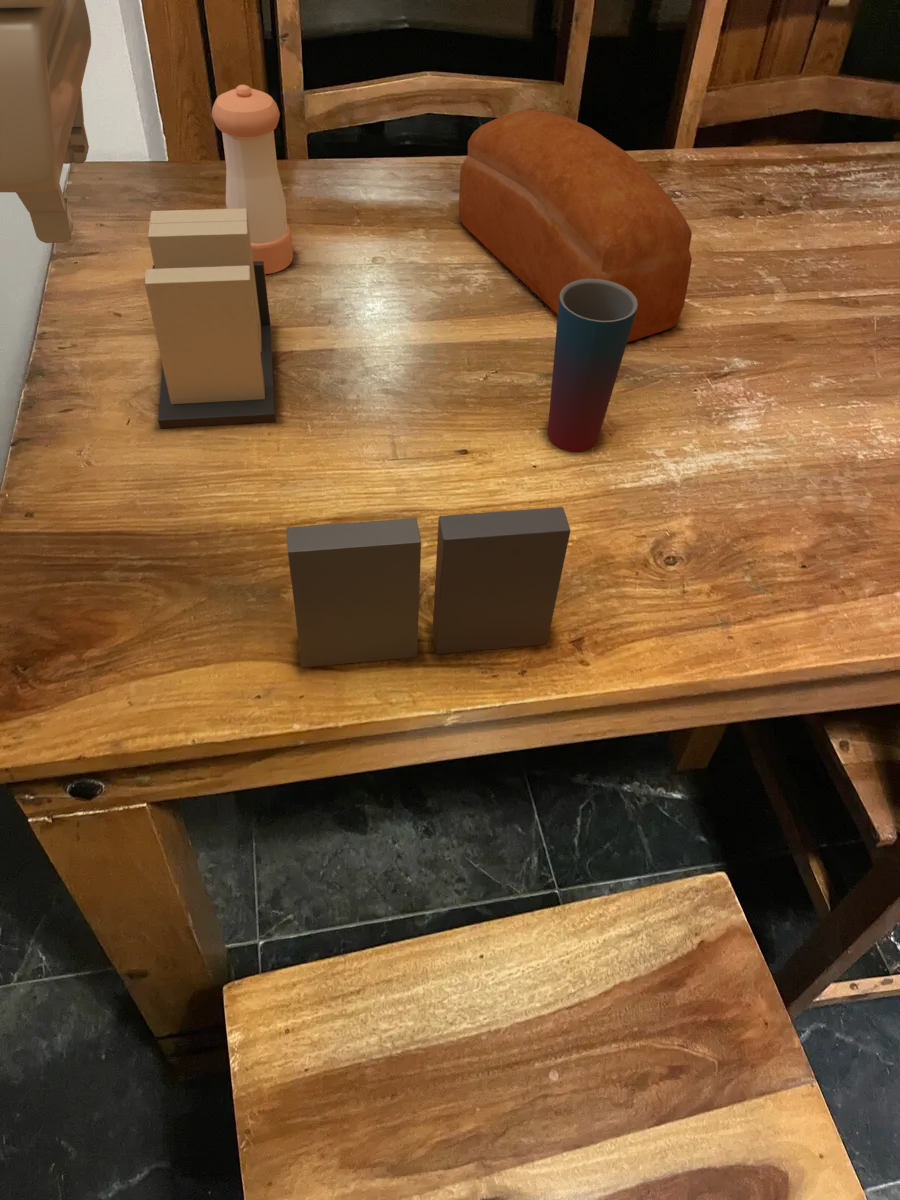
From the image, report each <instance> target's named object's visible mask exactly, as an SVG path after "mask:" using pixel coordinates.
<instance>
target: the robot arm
mask: <svg viewBox="0 0 900 1200" xmlns="http://www.w3.org/2000/svg"><path fill="white" fill-rule="evenodd" d="M91 33H92V31H91V25H90V17H89V13H88V9H87V3H86V0H0V193H16V195H17V196H18V198H19V199H20V201H21V202H22V204H23V206H24V208H25V209H26V210H27V212H28V213H29V217H30V220H31V223H32V226H33V229H34V233H35V235H36V236H35V237H36V238H37V240H39V241H40V242H42V243H44V244H59V243H60V244H63V243H64V244H65V243H68V242H69V241H70V240H71V239H72V233H73V229H74V220H73V216H72V213H71V212H72V211H71V207H70V203H69V199H68V197H65V196H64V194H63V191H62V190H63V189H62V187H61V183H60V182H61V176H62V172H63V168H64V165H70V164H80V165H81V164H84V163H85V162H86V160H87V157H88V153H89V149H90V145H89V141H88V136H87V131H86V127H85V120H84V118H85V117H84V116H85V115H84V106H83V103H84V102H83V92H82V86H83V81H84V77H85V73H86V68H87V65H88V60H89V56H90V50H91V47H92V34H91Z"/></svg>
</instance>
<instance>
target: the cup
mask: <svg viewBox="0 0 900 1200" xmlns="http://www.w3.org/2000/svg"><path fill="white" fill-rule="evenodd" d="M637 307H638V303H637V299H636V297H635V296H634V294H633V293H632V292H631V291H629V290H628V289H627V288H625V287H623V286H622V285H619V284H617V283H614V282H611V281H607V280H602V279H582V280H577V281H574V282H571V283H569V284H567V285H566V286H565V287H564V288H563V289H562V290H561V292H560V295H559V307H558V314H557V319H556V329H555V342H554V353H553V354H554V355H553V363H552V364H553V367H552V377H551V386H550V387H551V388H550V399H549V411H548V424H547V436H548V437H547V438H548V439H549V441H550V442H551V443H552V444H553V445H554V446H556V447H557V448H558V449H561V450H564V451H566V452H567V451H568V452H574V453H575V452H576V453H577V452H578V453H579V452H585V451H588V450H591V449H592V448H594V447H595V446H596V445H597V444H598V441H599V437H600V434H601V431H602V427H603V425H604V421H605V418H606V414H607V411H608V408H609V404H610V401H611V398H612V394H613V391H614V387H615V384H616V381H617V377H618V374H619V371H620V367H621V364H622V360H623V357H624V355H625V351H626V347H627V344H628V342H627V341H628V338H629V334H630V331H631V328H632V324H633V321H634V318H635V314H636V311H637Z"/></svg>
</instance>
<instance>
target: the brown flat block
mask: <svg viewBox="0 0 900 1200" xmlns="http://www.w3.org/2000/svg"><path fill="white" fill-rule="evenodd" d="M144 277H145V278H144V287H145V292H146V296H147V300H148V306H149V311H150V314H151V319H152V324H153V328H154V333H155V337H156V342H157V346H158V347H157V348H158V350H159V356H160V359H161V364H162V365H163V369H164V374H165V378H166V383H167V387H168V392H169V396H170V401H171V404H187V403H206V402H224V401H243V400H262V399H265V387H264V377H263V369H262V361H261V353H260V345H259V337H258V329H257V321H256V313H255V305H254V297H253V289H252V281H251V273H250V266H223V267H193V268H164V269H153V268H146V269H145V276H144ZM162 365H161V366H162Z"/></svg>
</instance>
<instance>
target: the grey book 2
mask: <svg viewBox="0 0 900 1200" xmlns="http://www.w3.org/2000/svg"><path fill="white" fill-rule="evenodd" d="M437 520H438V521H437V522H438V523H437V539H436V540H437V541H436V559H435V575H434V577H435V578H434V595H433V596H434V597H433V612H432V613H433V615H432V631H431V632H432V637H433V644H434V648H435V649H434V650H435V653H436V655H444V654H457V653H466V652H477V651H488V650H489V651H490V650H498V649H499V650H500V649H508V648H509V649H510V648H522V647H531V646H532V647H533V646H541V645H543V646H544V645H547V644H548V641H549V636H550V631H551V627H552V621H553V618H554V613H555V607H556V603H557V598H558V594H559V589H560V583H561V578H562V574H563V568H564V564H565V559H566V554H567V549H568V545H569V540H570V536H571V527H570V525H569V520H568V518H567V515H566V512H565V509H564V507H563V506H558V507H557V506H555V507H545V508H544V507H543V508H530V509H528V508H527V509H517V510H515V509H514V510H502V511H501V510H500V511H490V512H474V513H473V512H472V513H461V514H447V515H446V514H445V515H439V516H438V519H437Z"/></svg>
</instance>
